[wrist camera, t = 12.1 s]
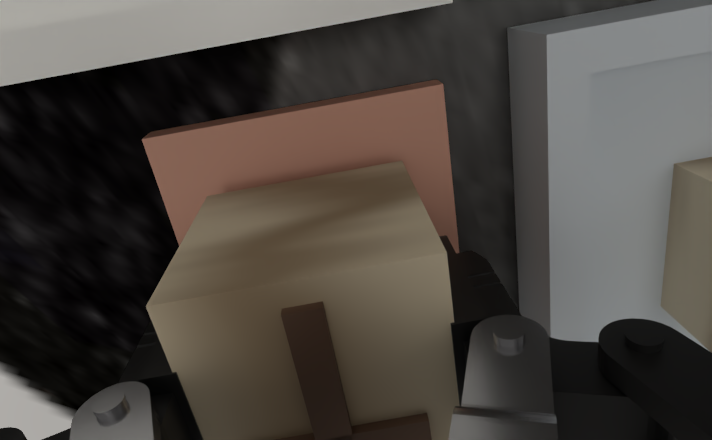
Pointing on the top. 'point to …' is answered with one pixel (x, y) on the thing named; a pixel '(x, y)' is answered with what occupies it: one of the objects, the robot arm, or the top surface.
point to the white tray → (155, 28)
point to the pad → (310, 150)
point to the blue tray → (604, 157)
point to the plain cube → (690, 250)
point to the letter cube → (313, 312)
